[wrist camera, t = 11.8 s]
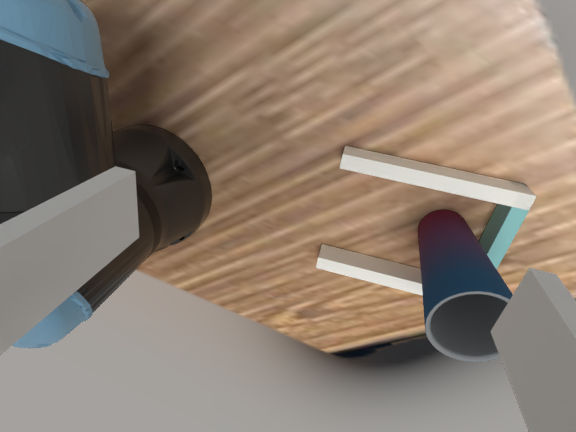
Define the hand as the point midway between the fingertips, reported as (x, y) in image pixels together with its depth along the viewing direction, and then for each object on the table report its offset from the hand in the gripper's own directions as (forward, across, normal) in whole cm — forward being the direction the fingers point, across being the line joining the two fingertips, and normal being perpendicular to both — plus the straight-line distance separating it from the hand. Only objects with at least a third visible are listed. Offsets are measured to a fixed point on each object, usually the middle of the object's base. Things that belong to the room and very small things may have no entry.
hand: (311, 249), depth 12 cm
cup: (+27, +12, -11) cm, 32 cm away
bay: (+27, +9, -11) cm, 30 cm away
